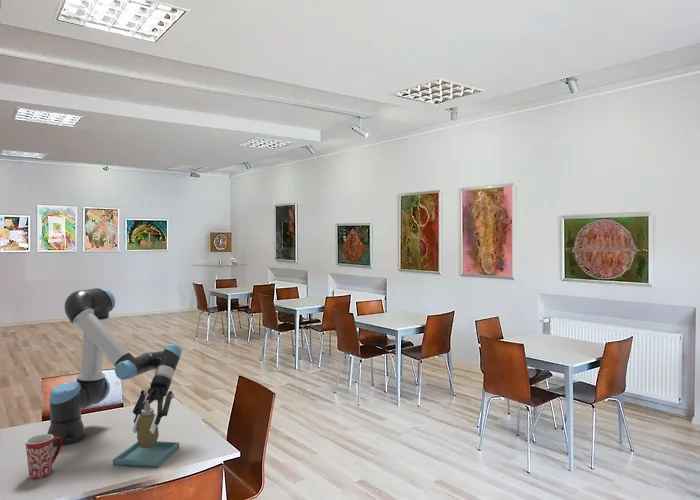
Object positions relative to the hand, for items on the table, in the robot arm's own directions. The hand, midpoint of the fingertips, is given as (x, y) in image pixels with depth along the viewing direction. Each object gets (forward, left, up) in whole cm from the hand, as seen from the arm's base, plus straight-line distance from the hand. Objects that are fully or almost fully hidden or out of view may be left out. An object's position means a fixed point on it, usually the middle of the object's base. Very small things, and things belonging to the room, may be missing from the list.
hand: (142, 431), depth 196 cm
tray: (0, +4, -11) cm, 12 cm away
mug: (-31, -13, -12) cm, 36 cm away
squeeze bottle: (0, +4, -7) cm, 8 cm away
